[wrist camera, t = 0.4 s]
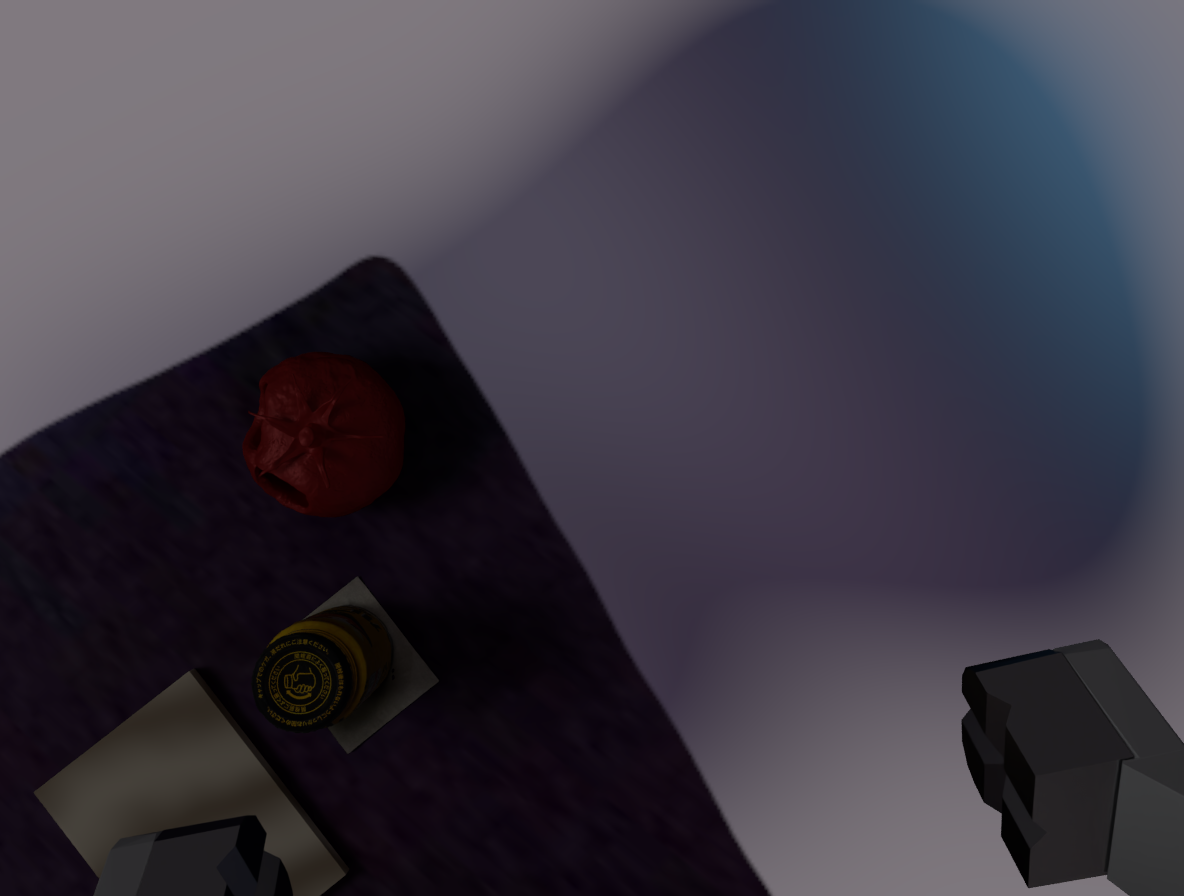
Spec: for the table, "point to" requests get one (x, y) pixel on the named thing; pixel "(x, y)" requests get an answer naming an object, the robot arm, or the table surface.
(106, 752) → the board
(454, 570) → the table surface
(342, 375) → the pomegranate
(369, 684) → the condiment
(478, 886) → the table surface
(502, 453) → the table surface
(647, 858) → the table surface
